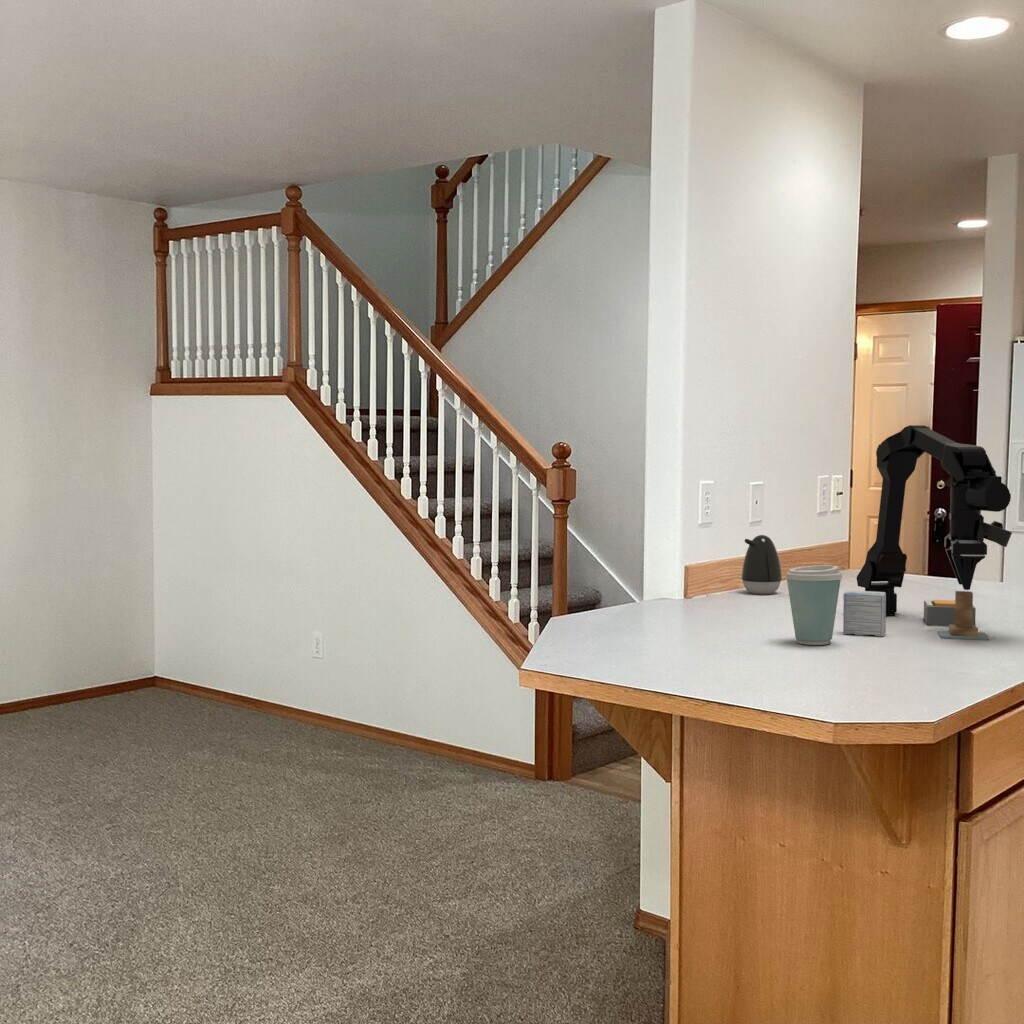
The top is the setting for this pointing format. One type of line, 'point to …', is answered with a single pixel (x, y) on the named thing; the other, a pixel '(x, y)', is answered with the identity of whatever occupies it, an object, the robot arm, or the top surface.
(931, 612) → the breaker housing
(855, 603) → the medicine box
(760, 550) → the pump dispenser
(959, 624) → the press tool
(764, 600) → the top surface
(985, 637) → the rubber mat
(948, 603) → the button
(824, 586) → the disposable coffee cup
